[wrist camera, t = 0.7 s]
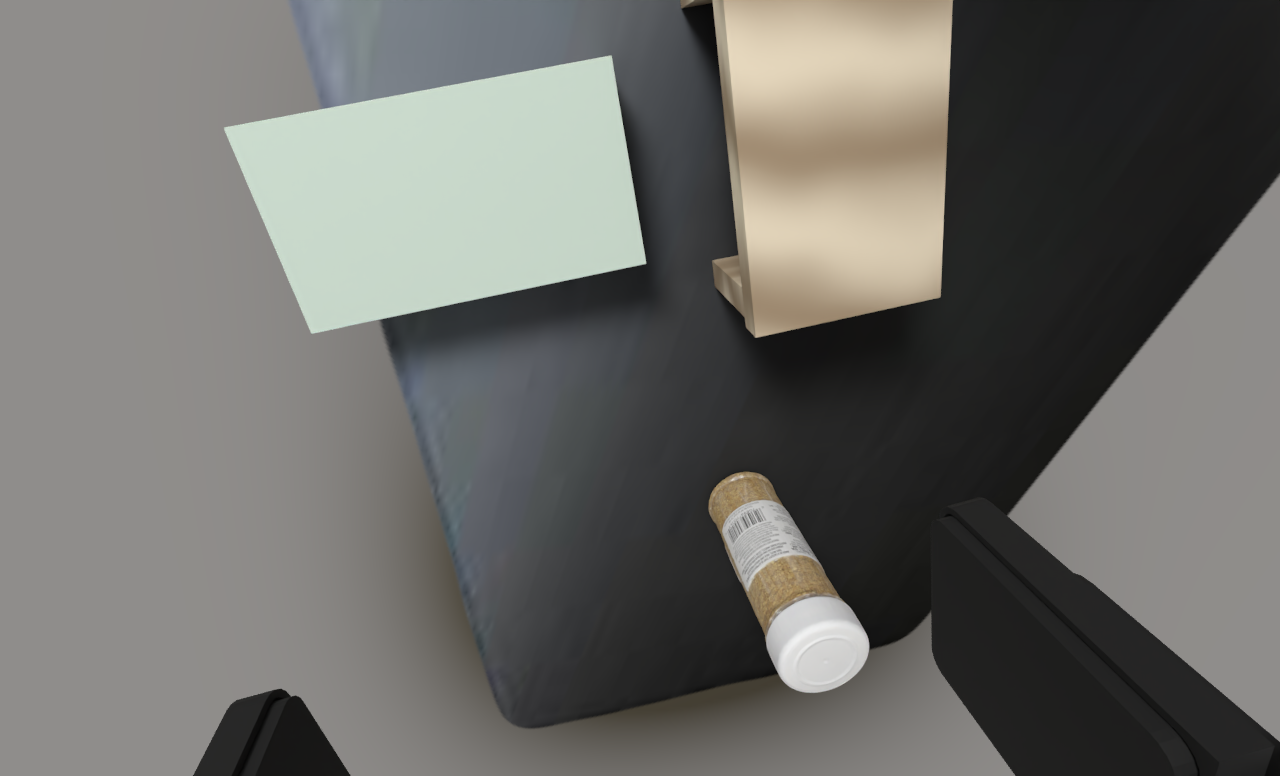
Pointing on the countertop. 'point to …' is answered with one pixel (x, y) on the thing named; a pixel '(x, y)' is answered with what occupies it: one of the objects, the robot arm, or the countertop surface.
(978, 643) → the robot arm
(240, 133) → the mint green block
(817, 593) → the sprinkles bottle
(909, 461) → the countertop surface
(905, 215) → the birch shelf
